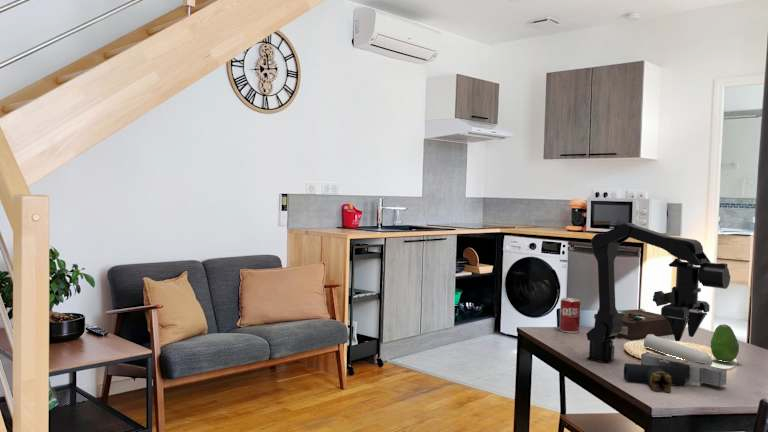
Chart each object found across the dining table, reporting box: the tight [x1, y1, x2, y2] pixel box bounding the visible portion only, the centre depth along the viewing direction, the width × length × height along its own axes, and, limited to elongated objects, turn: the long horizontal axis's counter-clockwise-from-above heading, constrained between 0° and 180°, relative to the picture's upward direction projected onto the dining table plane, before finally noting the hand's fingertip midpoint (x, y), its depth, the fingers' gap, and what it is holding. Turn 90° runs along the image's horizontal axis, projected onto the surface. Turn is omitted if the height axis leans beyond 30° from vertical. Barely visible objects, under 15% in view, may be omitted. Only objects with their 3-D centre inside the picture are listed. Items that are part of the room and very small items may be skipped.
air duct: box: [640, 351, 728, 388], centre depth 176 cm, size 22×4×4 cm, turn 42°
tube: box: [643, 334, 713, 366], centre depth 199 cm, size 5×5×25 cm
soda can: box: [559, 297, 582, 334], centre depth 234 cm, size 7×7×12 cm
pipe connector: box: [623, 363, 686, 393], centre depth 169 cm, size 12×5×15 cm
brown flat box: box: [593, 309, 674, 342], centre depth 235 cm, size 19×8×30 cm
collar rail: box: [659, 355, 706, 387], centre depth 176 cm, size 11×8×5 cm
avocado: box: [710, 324, 740, 362], centre depth 196 cm, size 8×8×12 cm
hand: (684, 338), depth 176 cm, fingers open, 9 cm apart
